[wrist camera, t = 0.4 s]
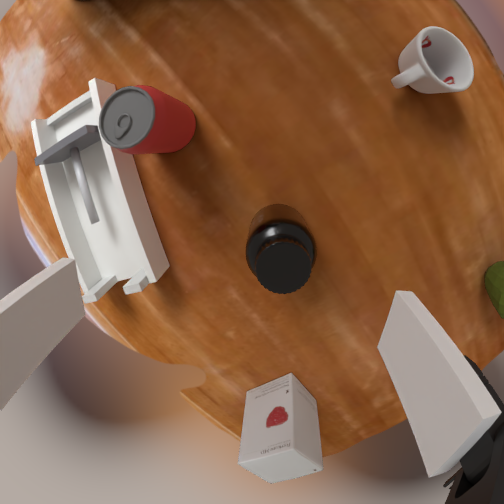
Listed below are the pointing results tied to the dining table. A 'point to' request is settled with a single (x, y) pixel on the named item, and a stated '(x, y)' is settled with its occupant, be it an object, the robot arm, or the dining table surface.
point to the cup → (435, 63)
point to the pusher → (75, 160)
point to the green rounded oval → (496, 286)
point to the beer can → (145, 121)
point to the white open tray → (100, 203)
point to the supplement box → (280, 431)
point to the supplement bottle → (280, 249)
